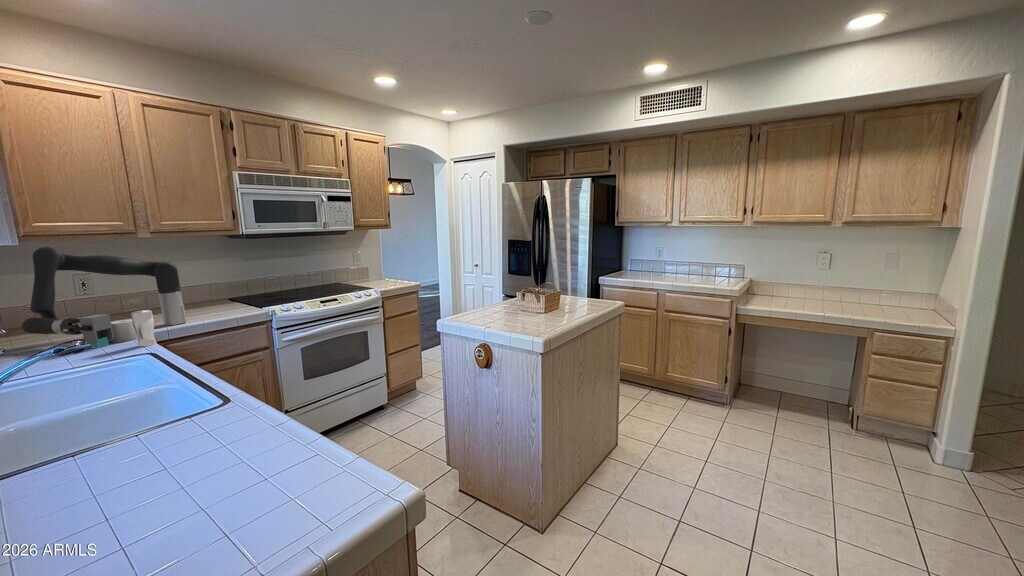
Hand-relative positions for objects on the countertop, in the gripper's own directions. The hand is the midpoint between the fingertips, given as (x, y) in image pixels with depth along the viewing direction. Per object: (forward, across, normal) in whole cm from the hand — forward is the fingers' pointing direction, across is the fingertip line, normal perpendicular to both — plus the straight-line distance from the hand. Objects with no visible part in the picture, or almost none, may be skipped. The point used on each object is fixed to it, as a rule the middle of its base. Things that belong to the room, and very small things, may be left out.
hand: (100, 326), depth 179 cm
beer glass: (+18, +3, +10) cm, 21 cm away
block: (-2, 0, +9) cm, 10 cm away
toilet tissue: (-4, +10, +10) cm, 14 cm away
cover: (-2, 0, +7) cm, 7 cm away
